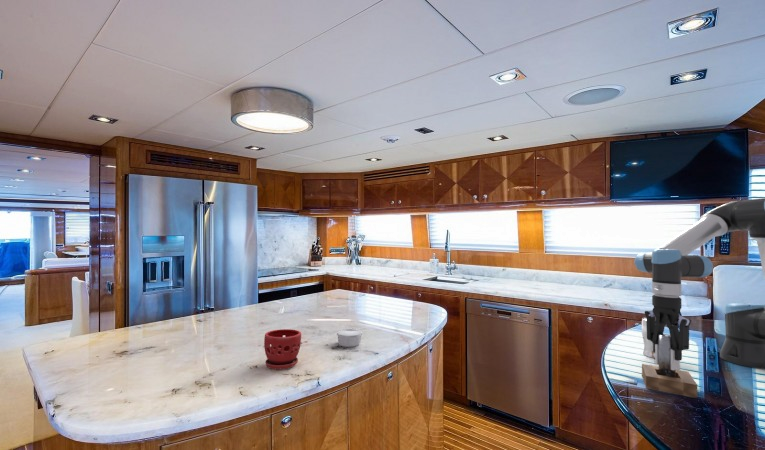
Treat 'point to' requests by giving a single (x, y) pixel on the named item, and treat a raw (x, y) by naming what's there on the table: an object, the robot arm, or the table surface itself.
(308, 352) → the table surface
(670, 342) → the steel peg
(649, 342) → the beer glass
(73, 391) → the table surface
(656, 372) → the socket block
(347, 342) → the ramekin
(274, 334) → the plant pot
